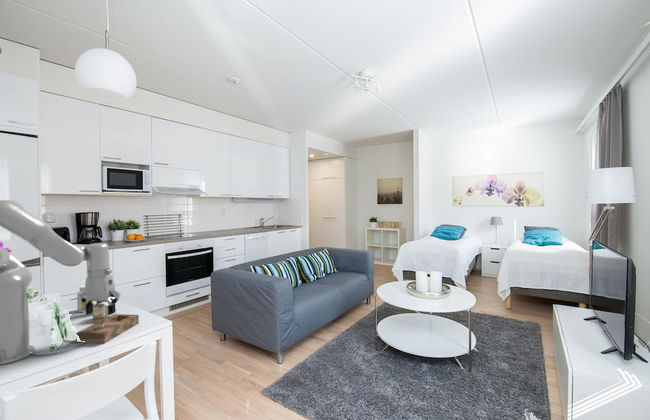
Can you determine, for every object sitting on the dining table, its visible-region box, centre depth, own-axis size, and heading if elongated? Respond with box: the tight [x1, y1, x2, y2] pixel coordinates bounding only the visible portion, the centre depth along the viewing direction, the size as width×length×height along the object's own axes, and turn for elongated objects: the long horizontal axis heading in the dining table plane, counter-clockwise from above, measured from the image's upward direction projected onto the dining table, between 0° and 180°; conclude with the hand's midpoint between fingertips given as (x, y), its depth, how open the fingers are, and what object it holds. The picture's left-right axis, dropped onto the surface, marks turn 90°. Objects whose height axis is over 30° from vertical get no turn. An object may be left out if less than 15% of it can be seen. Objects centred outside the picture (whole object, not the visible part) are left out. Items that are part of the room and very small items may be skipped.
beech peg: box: [92, 303, 105, 330], centre depth 125 cm, size 4×4×10 cm
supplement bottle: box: [76, 285, 95, 313], centre depth 157 cm, size 7×7×13 cm
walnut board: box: [75, 313, 140, 344], centre depth 131 cm, size 20×12×4 cm, turn 176°
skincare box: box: [102, 302, 117, 318], centre depth 147 cm, size 6×6×7 cm
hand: (101, 313), depth 126 cm, fingers open, 9 cm apart
